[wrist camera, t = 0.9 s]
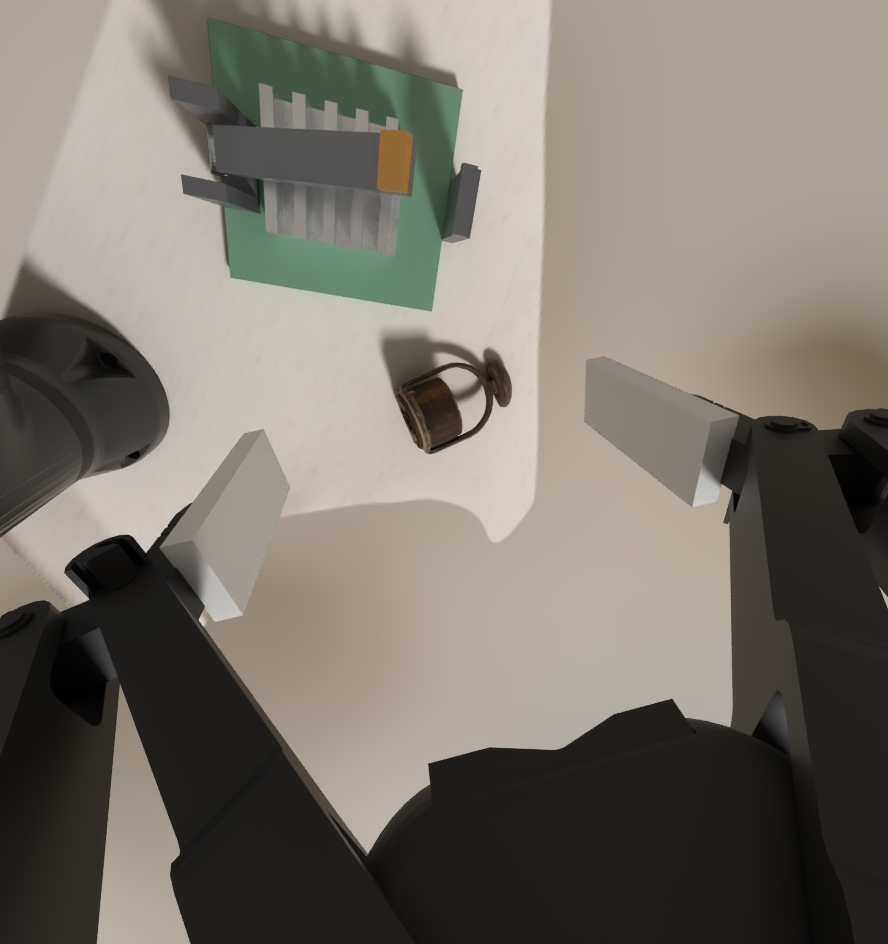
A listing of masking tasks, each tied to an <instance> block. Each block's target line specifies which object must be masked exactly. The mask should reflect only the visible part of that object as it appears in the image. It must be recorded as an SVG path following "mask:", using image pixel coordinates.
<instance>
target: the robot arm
mask: <svg viewBox="0 0 888 944" xmlns="http://www.w3.org/2000/svg"><path fill="white" fill-rule="evenodd" d="M584 415H585V417H584V422H585V423H587V424H588V425H589V426H590V427H591V428H593V429H594V430H595V431H597V432H598V433H599V434H600V435H602V436H603V437H604V438H605V439H607V440H608V441H609V442H610V443H612V444H613V445H614V446H615V447H617V448H618V449H619V450H621V451H622V452H623V453H624V454H625V455H627V456H628V457H629V458H630V459H632V460H633V461H634V462H636V463H637V464H638V465H639V466H640V467H642V468H643V469H644V470H646V471H647V472H648V473H649V474H651V475H652V476H653V477H654V478H656V479H657V480H658V481H659V482H661V483H662V484H663V485H664V486H666V487H667V488H668V489H669V490H671V491H672V492H673V493H674V494H676V495H677V496H678V497H679V498H681V499H682V500H683V501H684V502H686V503H687V504H688V505H690V506H691V507H696V506H701V505H705V504H709V503H713V502H717V499H718V495H719V491H720V487H721V484H723V485H725V486H726V487H728V488H729V489H730V490H732V494H731V498H730V502H729V505H728V508H727V512H726V515H725V519H724V522H723V523H726V524H728V523H729V521H730V574H731V575H730V576H731V629H732V630H731V631H732V684H733V685H732V687H733V713H732V721H731V727H727V726H723V725H720V724H716V723H712V722H708V721H703V720H696V719H691V718H685V717H684V716H683V714H682V713H681V711H680V710H679V708H678V707H677V705H676V704H675V702H674V701H673V699H670V700H666V701H662V702H658V703H655V704H651V705H647V706H644V707H640V708H636V709H632V710H629V711H625V712H621V713H617V714H614V715H612V716H611V717H609V718H608V719H606V720H605V721H603V722H602V723H600V724H599V725H597V726H596V727H594V728H593V729H591V730H590V731H588V732H587V733H585V734H584V735H582V736H581V737H579V738H577V739H576V740H574V741H573V742H572V743H570V744H568V745H567V746H565V747H564V748H562V749H558V750H540V749H514V748H491V747H489V748H486V749H482V750H478V751H474V752H470V753H467V754H463V755H460V756H455V757H452V758H448V759H444V760H440V761H437V762H433V763H429V764H428V766H429V776H430V785H428V786H427V787H425V788H424V789H422V790H421V791H419V792H418V793H417V794H416V795H415V796H413V797H412V798H411V799H410V800H409V801H408V802H406V804H404V805H403V807H402V808H401V809H400V810H399V811H398V812H397V813H396V814H395V815H394V816H393V817H392V819H391V820H390V821H389V823H388V824H387V826H386V827H385V828H384V830H383V831H382V832H381V834H380V835H379V837H378V839H377V840H376V842H375V844H374V845H373V847H372V849H371V850H370V852H369V854H367V852H366V851H365V850H364V848H363V847H362V846H361V844H360V843H359V842H358V840H357V839H356V838H355V836H354V835H353V834H352V832H351V831H350V830H349V829H348V827H347V826H346V824H345V823H344V822H343V821H342V819H341V818H340V816H339V815H338V814H337V812H336V811H335V810H334V808H333V807H332V805H331V804H330V802H329V801H328V800H327V798H326V797H325V796H324V794H323V793H322V791H321V790H320V789H319V787H318V786H317V784H316V783H315V782H314V780H313V779H312V777H311V776H310V775H309V773H308V772H307V770H306V769H305V768H304V767H303V765H302V763H301V762H300V761H299V759H298V758H297V756H296V755H295V754H294V752H293V751H292V750H291V748H290V747H289V746H288V744H287V743H286V741H285V740H284V739H283V737H282V736H281V734H280V733H279V731H278V730H277V729H276V727H275V726H274V725H273V723H272V722H271V720H270V719H269V718H268V716H267V715H266V713H265V712H264V710H263V709H262V708H261V706H260V705H259V704H258V702H257V701H256V699H255V698H254V697H253V695H252V694H251V692H250V691H249V690H248V688H247V687H246V685H245V684H244V683H243V681H242V680H241V678H240V677H239V676H238V674H237V673H236V671H235V670H234V669H233V667H232V666H231V664H230V663H229V662H228V660H227V659H226V658H225V656H224V655H223V653H222V652H221V651H220V649H219V648H218V647H217V645H216V644H215V642H214V641H213V639H212V638H211V637H210V635H209V634H208V632H207V631H206V630H205V628H204V627H203V626H202V624H201V623H200V622H199V621H198V620H199V618H200V616H201V614H202V612H203V610H204V608H205V609H206V610H207V612H208V613H209V614H210V615H211V617H212V618H213V620H214V621H215V622H217V621H221V620H225V619H229V618H233V617H237V616H241V615H243V614H244V611H245V609H246V606H247V603H248V601H249V598H250V595H251V592H252V589H253V587H254V584H255V582H256V579H257V576H258V573H259V571H260V568H261V565H262V562H263V560H264V557H265V554H266V551H267V549H268V546H269V544H270V541H271V538H272V535H273V533H274V530H275V527H276V525H277V522H278V519H279V517H280V514H281V511H282V508H283V506H284V503H285V500H286V498H287V495H288V492H289V489H290V486H289V484H288V482H287V480H286V477H285V475H284V473H283V471H282V469H281V466H280V464H279V462H278V460H277V458H276V455H275V453H274V451H273V449H272V447H271V444H270V442H269V440H268V438H267V436H266V434H265V431H264V429H263V430H258V431H254V432H249V433H244V434H243V435H242V437H241V438H240V439H239V441H238V442H237V444H236V445H235V446H234V448H233V449H232V450H231V452H230V453H229V454H228V456H227V457H226V458H225V460H224V461H223V462H222V464H221V465H220V466H219V468H218V469H217V471H216V472H215V473H214V475H213V476H212V477H211V479H210V480H209V481H208V483H207V484H206V485H205V487H204V488H203V489H202V491H201V492H200V493H199V495H198V496H197V498H196V499H195V500H194V502H193V503H190V504H189V505H187V506H186V507H185V508H184V509H182V510H181V511H180V512H179V513H177V514H176V515H175V516H174V518H173V519H172V520H171V522H170V523H169V524H168V527H167V528H165V529H164V531H163V532H162V533H161V536H160V537H158V538H157V540H156V541H155V542H154V544H153V545H152V546H151V548H150V549H149V550H148V551H147V553H145V552H144V550H143V549H142V548H141V547H140V545H139V544H138V543H137V542H136V540H135V539H134V538H133V537H132V536H130V535H119V536H115V537H111V538H108V539H106V540H103V541H101V542H99V543H96V544H94V545H93V546H91V547H89V548H87V549H86V550H84V551H82V552H81V553H80V554H78V555H77V556H76V557H75V558H73V559H72V560H71V561H70V562H69V564H68V565H67V566H66V568H65V572H64V573H65V574H66V575H67V576H68V577H69V578H70V579H71V580H72V581H73V582H74V583H75V584H76V586H77V587H78V588H79V589H80V590H81V591H82V592H83V593H84V594H85V595H86V596H87V597H88V598H89V600H88V601H86V602H84V603H81V604H79V605H76V606H74V607H71V608H69V609H67V610H64V611H62V612H60V611H58V610H57V609H56V608H55V607H54V606H53V605H52V604H51V603H50V602H47V601H45V600H43V601H36V602H32V603H29V604H27V605H24V606H21V607H19V608H17V609H15V610H13V611H10V612H7V613H5V614H4V615H2V616H1V618H0V944H97V934H98V923H99V911H100V900H101V889H102V878H103V867H104V855H105V844H106V833H107V821H108V809H109V799H110V788H111V776H112V765H113V754H114V741H115V731H116V720H117V708H118V697H119V686H120V684H121V687H122V690H123V693H124V695H125V698H126V701H127V703H128V706H129V709H130V712H131V715H132V717H133V720H134V723H135V726H136V728H137V731H138V734H139V736H140V739H141V742H142V745H143V747H144V750H145V753H146V756H147V758H148V761H149V764H150V767H151V769H152V772H153V775H154V778H155V780H156V783H157V786H158V789H159V791H160V794H161V797H162V799H163V802H164V805H165V807H166V810H167V813H168V816H169V819H170V821H171V824H172V827H173V829H174V832H175V835H176V837H177V840H178V844H179V848H180V855H179V856H178V857H177V858H176V859H175V860H174V861H173V862H172V863H171V872H170V877H171V881H172V885H173V890H174V894H175V897H176V900H177V903H178V907H179V910H180V913H181V915H182V919H183V922H184V925H185V928H186V931H187V934H188V937H189V940H190V943H191V944H888V608H887V606H886V603H885V601H884V598H883V595H882V593H881V590H880V588H881V589H882V590H883V592H884V593H885V594H886V595H887V597H888V409H882V408H879V409H866V410H856V411H853V412H850V413H849V414H848V415H847V416H846V419H845V421H844V424H843V426H842V428H841V429H834V430H818V429H817V428H816V427H815V426H814V425H813V424H812V423H809V422H807V421H805V420H801V419H797V418H794V417H786V416H766V417H760V418H757V419H752V418H750V417H748V416H745V415H743V414H741V413H739V412H736V411H734V410H731V409H729V408H727V407H725V408H724V406H722V405H720V404H717V403H713V401H711V400H708V399H706V398H704V397H701V396H698V395H693V394H689V393H687V392H685V391H682V390H680V389H678V388H676V387H673V386H671V385H669V384H667V383H664V382H662V381H660V380H657V379H655V378H653V377H651V376H648V375H646V374H644V373H641V372H639V371H637V370H635V369H632V368H630V367H628V366H626V365H623V364H621V363H618V362H616V361H614V360H612V359H610V358H607V357H605V356H602V357H598V358H593V359H588V360H586V383H585V414H584ZM168 425H169V405H168V400H167V397H166V394H165V391H164V389H163V386H162V384H161V382H160V381H159V379H158V377H157V376H156V374H155V372H154V371H153V370H152V368H151V367H150V366H149V365H148V363H147V362H146V361H145V360H144V359H143V358H142V357H141V356H140V355H139V354H138V353H137V352H136V351H135V350H134V349H133V348H132V347H131V346H129V345H128V344H127V343H125V342H124V341H123V340H121V339H120V338H118V337H117V336H115V335H114V334H112V333H111V332H109V331H107V330H105V329H103V328H101V327H99V326H97V325H95V324H92V323H90V322H87V321H85V320H82V319H79V318H75V317H71V316H67V315H61V314H53V313H38V314H30V315H23V316H17V317H11V318H7V319H3V320H0V537H1V536H3V535H4V534H6V533H7V532H8V531H10V530H11V529H12V528H14V527H15V526H16V525H18V524H19V523H20V522H22V521H23V520H25V519H26V518H27V517H29V516H30V515H31V514H33V513H34V512H35V511H37V510H38V509H39V508H41V507H42V506H44V505H45V504H46V503H48V502H49V501H50V500H52V499H53V498H54V497H56V496H57V495H58V494H60V493H61V492H63V491H64V490H65V489H67V488H68V487H69V486H71V485H72V484H74V483H75V482H76V481H78V480H80V479H84V478H88V477H91V476H95V475H99V474H103V473H107V472H111V471H115V470H118V469H122V468H125V467H128V466H130V465H132V464H134V463H136V462H138V461H139V460H141V459H142V458H144V457H145V456H146V455H147V454H149V453H150V452H151V451H153V450H154V449H155V448H156V447H157V446H158V445H159V444H160V442H161V441H162V440H163V438H164V436H165V434H166V432H167V429H168ZM879 587H880V588H879Z"/></svg>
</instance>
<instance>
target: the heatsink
mask: <svg viewBox="0 0 888 944" xmlns="http://www.w3.org/2000/svg"><path fill="white" fill-rule="evenodd" d="M259 97H260V118H261V127H270V128H291V129H312V130H333V131H353V132H374V133H380V130H398V122H399V119H396V118H392V117H388V116H387V118H386V127H385V126H381V125H377V124H373V123H370V118H369V112H368V111H365V110H361V109H358V108H356V119H353V118H349V117H346V116H342V115H341V112H340V109H339V107H338V104H337V103H334V102H331V101H327V100H325V111H322V110H318V109H314V108H312V107H311V105H310V103H309V101H308V99H307V97H306V95H304V94H300V93H296V92H292V103H291V102H287V101H283V100H281V98H280V97H279V95H278V94H277V93H276V91H275V90H274V88H273V87H272V86H269V85H265V84H261V83H259ZM264 200H265V220H266V231H267V232H270V233H275V234H280V235H285V236H290V237H295V238H300V239H306V240H311V241H316V242H321V243H327V244H332V245H337V246H342V247H347V248H353V249H358V250H363V251H368V252H374V253H379V254H384V255H389V256H394V257H395V251H396V240H397V229H398V218H399V207H400V196H397V195H388V194H380V193H371V192H363V191H354V190H346V189H337V188H328V187H320V186H311V185H303V184H294V183H286V182H277V181H268V180H264Z"/></svg>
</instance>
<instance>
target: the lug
mask: <svg viewBox="0 0 888 944" xmlns="http://www.w3.org/2000/svg"><path fill="white" fill-rule="evenodd" d="M480 174H481V170H478V166H475V165H471V164H467V163H463V164H462V165H461V171H460V172H459V173H458V175H457V176H456V177H455V178H454V180H453V181H452V182H451V184H450V185H449V192H448V199H447V206H446V214H445V221H444V228H443V235H442V241H446V242H451V243H455V242H458V241H462V240H465V239H469V238H470V233H471V228H472V222H473V216H474V210H475V204H476V198H477V192H478V186H479V180H480Z"/></svg>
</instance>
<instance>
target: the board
mask: <svg viewBox="0 0 888 944" xmlns="http://www.w3.org/2000/svg"><path fill="white" fill-rule="evenodd" d="M207 24H208V35H209V46H210V57H211V68H212V79H213V87H215V88H218V89H219V90H220V91H221V92H222V93H223V94H224V95H225V96H226V97H227V98H228V99H229V100H230V101H231V102H232V103H233V104H234V105H235V106H236V107H237V108H238V109H239V110H240V111H241V112H242V113H243V114H244V115H245V116H246V117H247V118H248V119H249V120H250V121H251V122H252V123H253V124H254V125H255V126H256V127H261V118H260V97H259V83H261V84H265V85H269V86H272V87H273V88H274V90H275V91H276V93H277V94H278V95H279V97H280V98H281V100H283V101H287V102H291V103H292V92H296V93H300V94H304V95H306V97H307V99H308V101H309V103H310V105H311V107H312V108H314V109H318V110H322V111H325V100H327V101H331V102H334V103H337V104H338V107H339V109H340V112H341V115H342V116H346V117H349V118H353V119H356V108H358V109H361V110H365V111H368V112H369V118H370V123H373V124H377V125H381V126H385V127H386V118H387V116H388V117H392V118H396V119H399V122H398V130H401V131H409V132H410V133H411V134H413V137H414V138H415V139H417V140H418V141H417V150H416V160H415V170H414V180H413V189H412V197H405V196H400V207H399V218H398V229H397V240H396V251H395V257H394V256H389V255H384V254H379V253H374V252H368V251H363V250H358V249H353V248H347V247H342V246H337V245H332V244H327V243H321V242H316V241H311V240H306V239H300V238H295V237H290V236H285V235H280V234H275V233H270V232H267V231H266V220H265V200H264V180H260V179H259V189H260V208H261V214H257V213H252V212H247V211H242V210H237V209H232V208H227V207H224V211H225V222H226V233H227V244H228V255H229V265H230V276H231V278H236V279H242V280H248V281H254V282H260V283H266V284H272V285H277V286H283V287H289V288H295V289H301V290H307V291H313V292H319V293H325V294H331V295H337V296H343V297H349V298H355V299H361V300H367V301H373V302H379V303H385V304H391V305H397V306H403V307H409V308H415V309H421V310H427V311H432V307H433V299H434V292H435V285H436V278H437V271H438V264H439V256H440V249H441V242H442V235H443V228H444V221H445V214H446V206H447V199H448V192H449V185H450V178H451V171H452V163H453V156H454V149H455V142H456V135H457V128H458V120H459V113H460V106H461V99H462V92H463V89H459V88H456V87H452V86H449V85H445V84H441V83H438V82H434V81H431V80H427V79H424V78H420V77H417V76H413V75H410V74H406V73H403V72H399V71H396V70H392V69H388V68H385V67H381V66H378V65H374V64H371V63H367V62H364V61H360V60H357V59H353V58H350V57H346V56H343V55H339V54H336V53H332V52H328V51H325V50H321V49H318V48H314V47H311V46H307V45H304V44H300V43H297V42H293V41H290V40H286V39H283V38H279V37H275V36H272V35H268V34H265V33H261V32H258V31H254V30H251V29H247V28H244V27H240V26H237V25H233V24H230V23H226V22H223V21H219V20H215V19H212V18H208V17H207Z"/></svg>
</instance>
